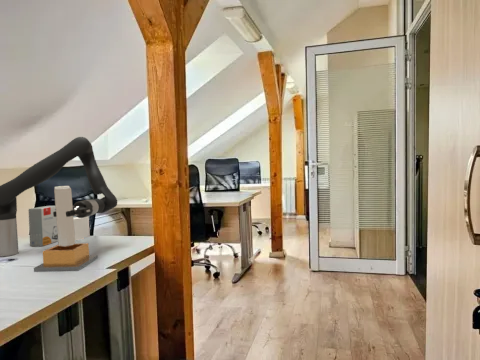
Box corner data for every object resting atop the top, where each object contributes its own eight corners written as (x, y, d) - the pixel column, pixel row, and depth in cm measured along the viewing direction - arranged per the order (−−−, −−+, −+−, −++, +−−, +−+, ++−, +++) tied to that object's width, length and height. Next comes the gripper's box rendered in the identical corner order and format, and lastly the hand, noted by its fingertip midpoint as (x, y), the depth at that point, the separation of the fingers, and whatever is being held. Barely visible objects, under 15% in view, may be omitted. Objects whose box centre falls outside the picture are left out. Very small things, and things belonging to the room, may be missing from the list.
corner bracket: (75, 240, 205) (74, 219, 204) (64, 238, 212) (63, 217, 211) (92, 237, 213) (91, 216, 213) (82, 235, 220) (81, 215, 219)
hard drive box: (42, 246, 192) (40, 208, 190) (29, 246, 193) (27, 209, 192) (61, 240, 207) (59, 205, 206) (49, 240, 208) (47, 205, 207)
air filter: (68, 247, 151) (64, 186, 149) (55, 246, 152) (50, 187, 151) (78, 243, 157) (74, 185, 156) (65, 243, 159) (60, 185, 157)
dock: (34, 271, 146) (32, 253, 146) (57, 259, 164) (56, 242, 164) (78, 270, 146) (77, 251, 145) (97, 258, 164) (96, 241, 163)
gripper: (71, 200, 169) (44, 205, 153) (99, 199, 166) (75, 205, 150) (72, 216, 170) (46, 223, 153) (100, 216, 166) (76, 223, 150)
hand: (60, 214), depth 151 cm, fingers closed on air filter, 5 cm apart
